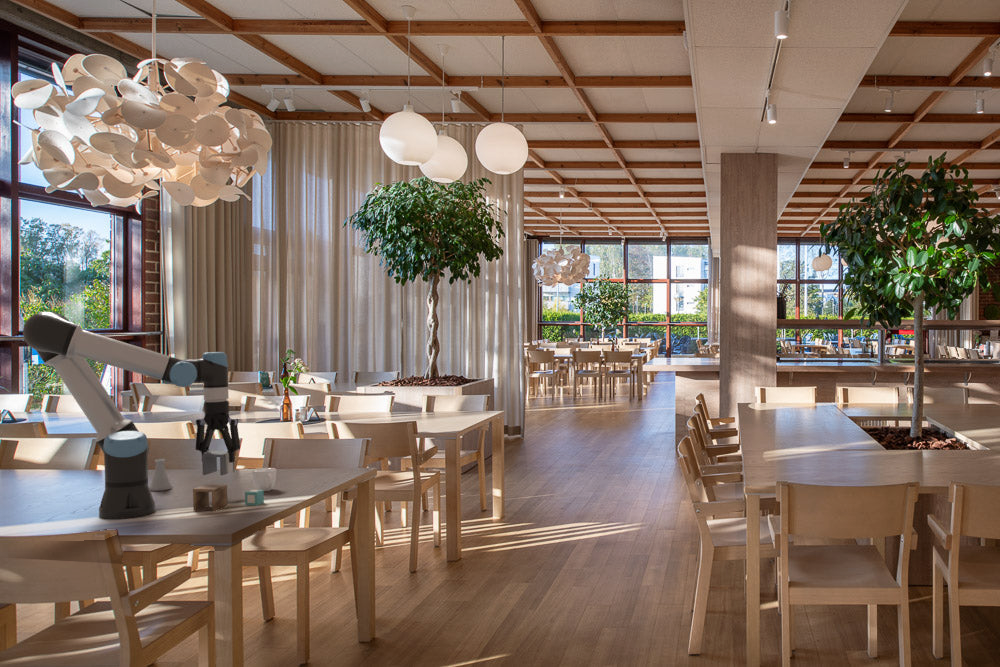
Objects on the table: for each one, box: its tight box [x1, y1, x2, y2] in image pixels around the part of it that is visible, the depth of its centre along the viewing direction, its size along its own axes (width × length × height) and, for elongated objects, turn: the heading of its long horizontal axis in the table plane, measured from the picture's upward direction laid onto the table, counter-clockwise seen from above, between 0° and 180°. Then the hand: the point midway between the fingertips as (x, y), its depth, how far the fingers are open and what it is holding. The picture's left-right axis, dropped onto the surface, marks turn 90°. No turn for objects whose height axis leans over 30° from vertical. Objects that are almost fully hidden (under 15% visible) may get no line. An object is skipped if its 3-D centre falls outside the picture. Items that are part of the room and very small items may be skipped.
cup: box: [251, 467, 277, 492], centre depth 287 cm, size 8×10×7 cm
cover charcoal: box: [201, 450, 235, 476], centre depth 277 cm, size 7×7×6 cm
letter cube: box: [244, 489, 265, 506], centre depth 266 cm, size 4×4×4 cm
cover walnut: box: [192, 483, 228, 512], centre depth 260 cm, size 7×7×6 cm
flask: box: [149, 458, 173, 492], centre depth 292 cm, size 7×7×10 cm
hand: (218, 472), depth 277 cm, fingers closed on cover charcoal, 7 cm apart
